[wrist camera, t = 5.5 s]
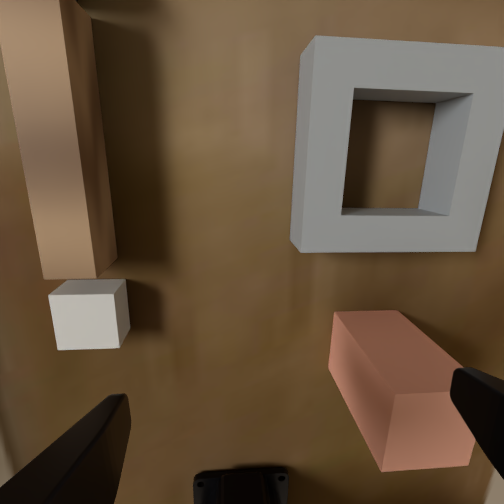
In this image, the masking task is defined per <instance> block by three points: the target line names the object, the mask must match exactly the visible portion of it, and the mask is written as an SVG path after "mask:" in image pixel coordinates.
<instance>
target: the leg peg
mask: <svg viewBox="0 0 504 504" xmlns="http://www.w3.org/2000/svg"><path fill="white" fill-rule="evenodd" d="M328 368H329V370H330V372H331V374H332V376H333V378H334V380H335V382H336V384H337V386H338V388H339V390H340V392H341V394H342V396H343V398H344V400H345V402H346V404H347V406H348V408H349V410H350V412H351V414H352V416H353V418H354V419H355V421H356V423H357V425H358V427H359V429H360V431H361V433H362V435H363V437H364V439H365V441H366V443H367V445H368V447H369V449H370V451H371V453H372V455H373V457H374V459H375V461H376V463H377V465H378V467H379V469H380V471H381V472H388V471H402V470H415V469H428V468H442V467H455V466H468V464H469V461H470V457H471V454H472V450H473V446H474V443H475V438H474V436H473V434H472V433H471V431H470V430H469V428H468V426H467V425H466V423H465V422H464V420H463V419H462V417H461V415H460V414H459V412H458V411H457V409H456V407H455V406H454V404H453V403H452V401H451V398H450V387H451V381H452V376H453V371H454V370H455V369H456V368H463V366H461V365H460V364H459V363H458V362H457V361H456V360H454V359H453V358H452V357H451V356H450V355H449V354H448V353H446V352H445V351H444V350H443V349H442V348H441V347H439V346H438V345H437V344H436V343H435V342H434V341H432V340H431V339H430V338H429V337H428V336H427V335H425V334H424V333H423V332H422V331H421V330H420V329H419V328H417V327H416V326H415V325H414V324H413V323H412V322H410V321H409V320H408V319H407V318H406V317H405V316H403V315H402V314H401V313H400V312H399V311H398V310H381V311H341V312H334V319H333V329H332V338H331V348H330V358H329V367H328Z"/></svg>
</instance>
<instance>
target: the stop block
mask: <svg viewBox="0 0 504 504" xmlns="http://www.w3.org/2000/svg"><path fill="white" fill-rule="evenodd" d="M48 296H49V302H50V308H51V313H52V319H53V325H54V330H55V336H56V342H57V348H58V350H75V349H105V348H120V346H121V344H122V343H123V341H124V339H125V337H126V335H127V333H128V332H129V330H130V319H129V309H128V298H127V288H126V279H94V280H67V281H66V282H65V283H63V284H62V285H61V286H59V287H58V288H57V289H56V290H54V291H53V292H52V293H51V294H49V295H48Z"/></svg>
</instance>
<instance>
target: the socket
mask: <svg viewBox="0 0 504 504" xmlns="http://www.w3.org/2000/svg"><path fill="white" fill-rule="evenodd" d="M353 99H355V100H379V101H402V102H426V103H436V107H435V113H434V119H433V125H432V131H431V136H430V142H429V148H428V154H427V160H426V166H425V172H424V177H423V183H422V189H421V195H420V201H419V207H418V208H342V201H343V191H344V181H345V171H346V162H347V152H348V142H349V132H350V122H351V113H352V103H353ZM503 130H504V47H494V46H478V45H461V44H445V43H429V42H412V41H396V40H380V39H364V38H347V37H331V36H315V37H314V38H313V39H312V41H311V42H310V43H309V45H308V46H307V47H306V49H305V50H304V51H303V53H302V54H301V55H300V71H299V89H298V106H297V124H296V141H295V159H294V176H293V194H292V211H291V228H290V241H291V242H292V243H293V244H294V245H295V246H296V248H297V249H298V250H299V251H300V252H301V253H316V252H475V251H476V247H477V242H478V238H479V234H480V229H481V225H482V221H483V216H484V212H485V208H486V203H487V199H488V195H489V190H490V186H491V182H492V177H493V173H494V169H495V164H496V160H497V156H498V152H499V147H500V143H501V139H502V134H503Z"/></svg>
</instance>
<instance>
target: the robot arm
mask: <svg viewBox="0 0 504 504" xmlns="http://www.w3.org/2000/svg"><path fill="white" fill-rule="evenodd" d="M450 398H451V401H452V403H453V404H454V406H455V407H456V409H457V411H458V412H459V414H460V415H461V417H462V419H463V420H464V422H465V423H466V425H467V426H468V428H469V430H470V431H471V433H472V434H473V436H474V438H475V439H476V441H477V442H478V444H479V445H480V447H481V449H482V450H483V452H484V453H485V455H486V456H487V458H488V459H489V460H490V462H491V463H492V464H493V466H494V467H495V469H496V470H497V471H498V473H499V474H500V475H501V477H502V478H503V479H504V380H501V379H499V378H496V377H494V376H491V375H489V374H487V373H484V372H482V371H479V370H477V369H474V368H471V367H463V368H456V369H455V370H454V371H453V376H452V381H451V387H450ZM130 430H131V415H130V408H129V401H128V397H127V395H126V394H112V395H109V396H108V397H106V398H105V399H104V400H103V401H102V402H100V403H99V404H98V405H97V406H96V407H95V408H93V409H92V410H91V411H90V412H89V413H87V414H86V415H85V416H84V417H83V418H82V419H80V420H79V421H78V422H77V423H76V424H75V425H73V426H72V427H71V428H70V429H69V430H67V431H66V432H65V433H64V434H63V435H62V436H60V437H59V438H58V439H57V440H56V441H54V442H53V443H52V444H51V445H50V446H49V447H47V448H46V449H45V450H44V451H43V452H41V453H40V454H39V455H38V456H37V457H36V458H34V459H33V460H32V461H31V462H30V463H28V464H27V465H26V466H25V467H24V468H23V469H21V470H20V471H19V472H18V473H17V474H15V475H14V476H13V477H12V478H11V479H10V480H8V481H7V482H6V483H5V484H4V485H2V486H1V487H0V504H114V501H115V498H116V494H117V490H118V486H119V481H120V477H121V472H122V467H123V463H124V458H125V453H126V448H127V444H128V439H129V434H130ZM288 483H289V476H288V471H287V469H285V468H267V469H253V470H239V471H225V472H211V473H200V474H197V475H195V477H194V481H193V493H194V504H287V497H288Z"/></svg>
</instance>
